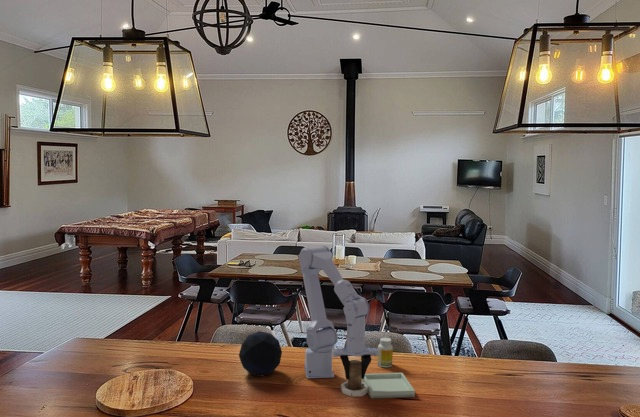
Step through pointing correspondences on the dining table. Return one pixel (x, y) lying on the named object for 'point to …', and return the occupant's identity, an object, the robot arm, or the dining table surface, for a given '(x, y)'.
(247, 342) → the decorative orb
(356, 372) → the walnut canister
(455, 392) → the dining table surface
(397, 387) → the tray
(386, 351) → the supplement bottle
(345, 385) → the holder ring
